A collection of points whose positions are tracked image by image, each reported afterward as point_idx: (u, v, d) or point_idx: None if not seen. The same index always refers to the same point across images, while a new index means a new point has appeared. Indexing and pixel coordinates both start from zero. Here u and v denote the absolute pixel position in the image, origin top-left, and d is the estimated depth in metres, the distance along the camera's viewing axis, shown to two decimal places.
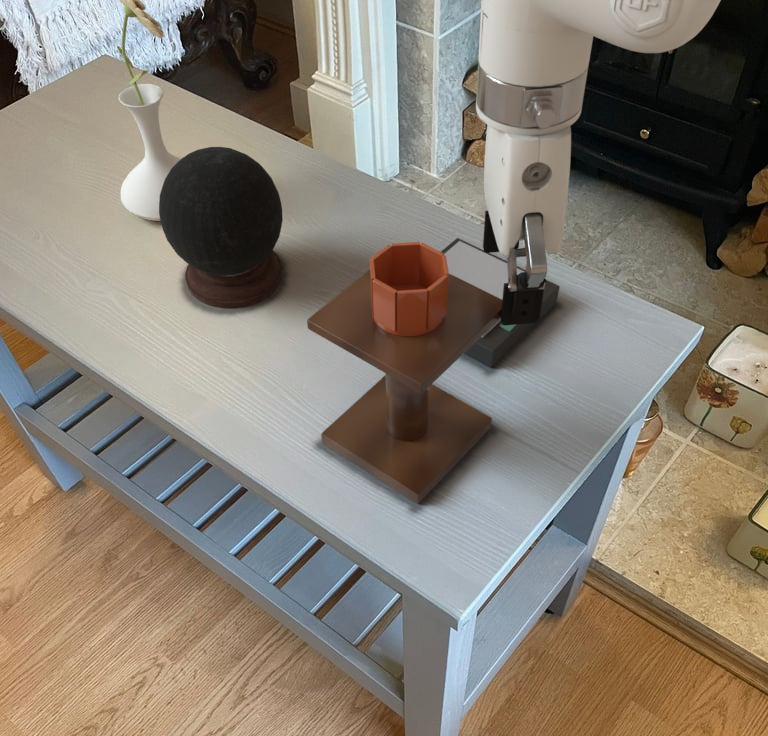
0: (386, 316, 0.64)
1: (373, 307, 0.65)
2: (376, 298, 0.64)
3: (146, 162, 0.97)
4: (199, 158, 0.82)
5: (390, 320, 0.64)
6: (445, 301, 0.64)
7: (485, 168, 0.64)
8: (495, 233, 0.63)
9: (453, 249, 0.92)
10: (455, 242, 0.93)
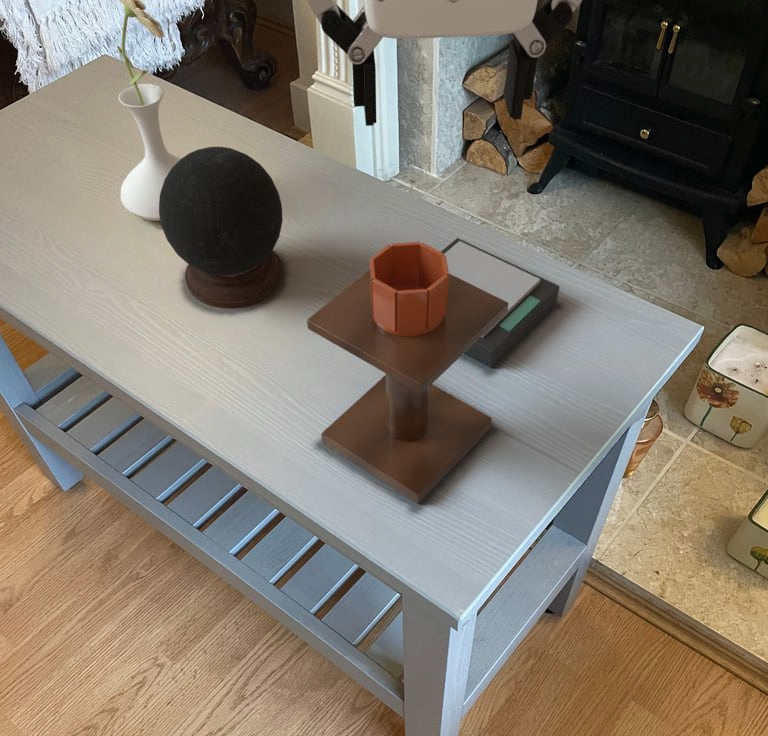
0: (386, 316, 0.64)
1: (373, 307, 0.65)
2: (376, 298, 0.64)
3: (146, 162, 0.97)
4: (199, 158, 0.82)
5: (390, 320, 0.64)
6: (445, 301, 0.64)
7: None
8: None
9: (453, 249, 0.92)
10: (455, 242, 0.93)
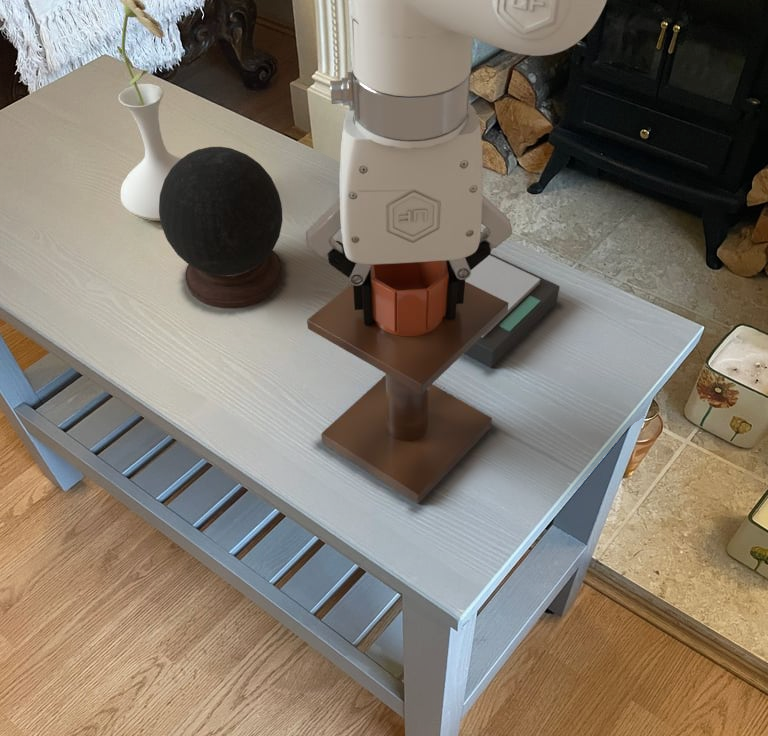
0: (386, 316, 0.64)
1: (373, 307, 0.65)
2: (376, 298, 0.64)
3: (146, 162, 0.97)
4: (199, 158, 0.82)
5: (390, 320, 0.64)
6: (445, 301, 0.64)
7: None
8: None
9: None
10: None
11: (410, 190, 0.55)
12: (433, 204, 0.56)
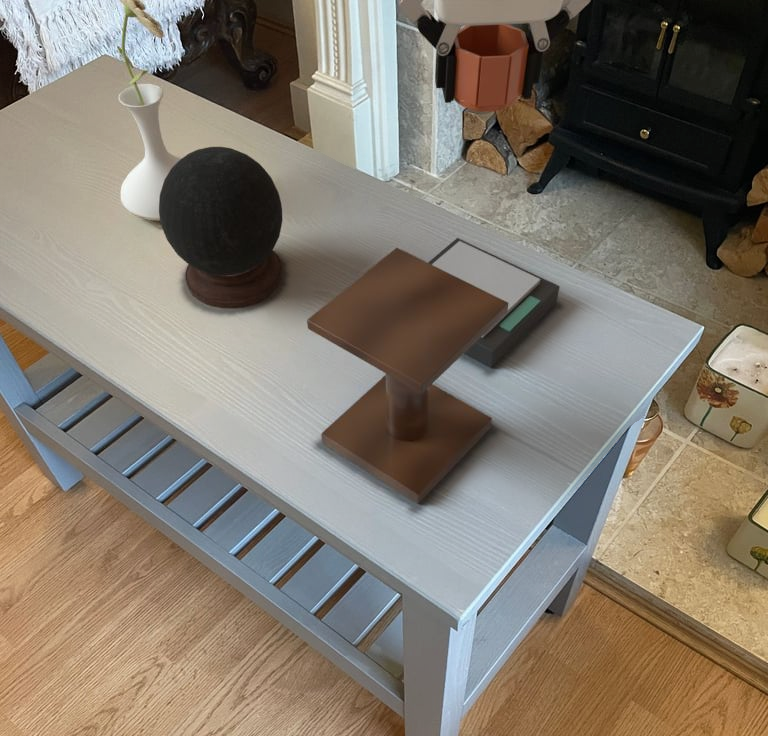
0: (468, 89, 0.68)
1: (455, 82, 0.69)
2: (459, 70, 0.68)
3: (146, 162, 0.97)
4: (199, 158, 0.82)
5: (471, 93, 0.68)
6: (523, 76, 0.69)
7: None
8: None
9: (453, 249, 0.92)
10: (455, 242, 0.93)
11: None
12: None
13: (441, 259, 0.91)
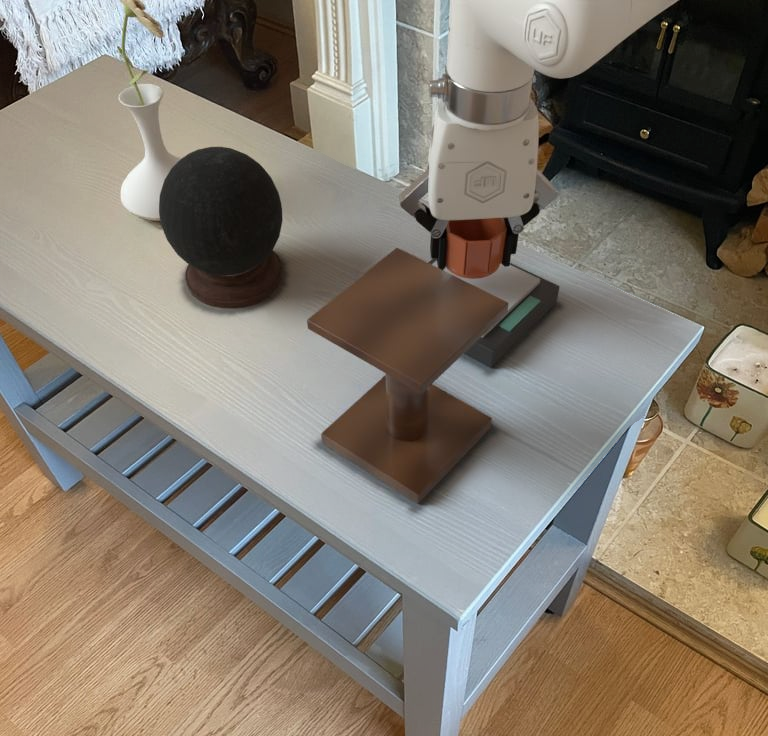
0: (457, 262, 0.83)
1: (446, 255, 0.83)
2: (449, 248, 0.82)
3: (146, 162, 0.97)
4: (199, 158, 0.82)
5: (460, 265, 0.83)
6: (502, 251, 0.83)
7: None
8: None
9: None
10: None
11: (484, 162, 0.73)
12: (501, 173, 0.74)
13: None
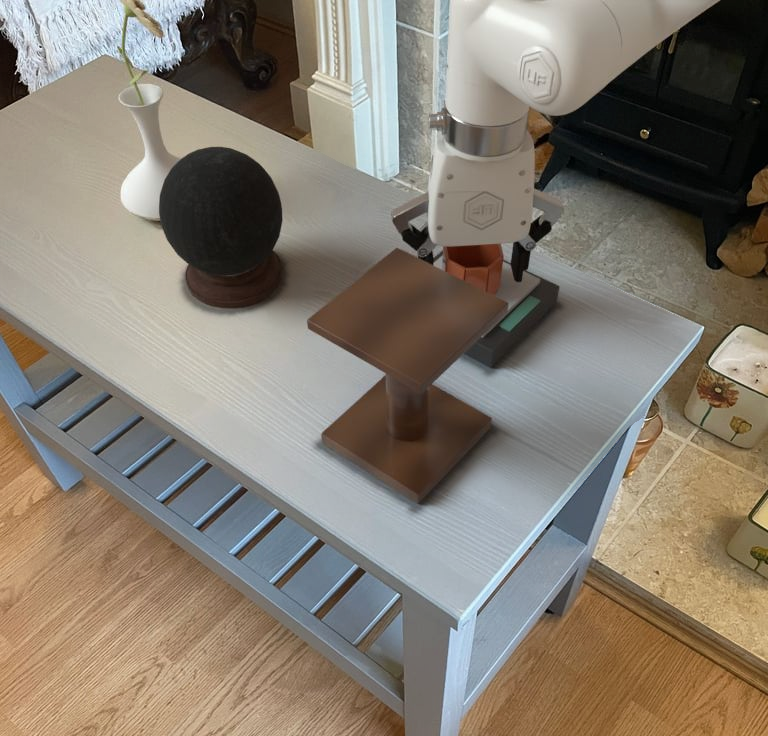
0: None
1: None
2: None
3: (146, 162, 0.97)
4: (199, 158, 0.82)
5: None
6: (499, 276, 0.86)
7: None
8: None
9: None
10: None
11: (482, 191, 0.76)
12: (498, 201, 0.77)
13: (441, 259, 0.91)
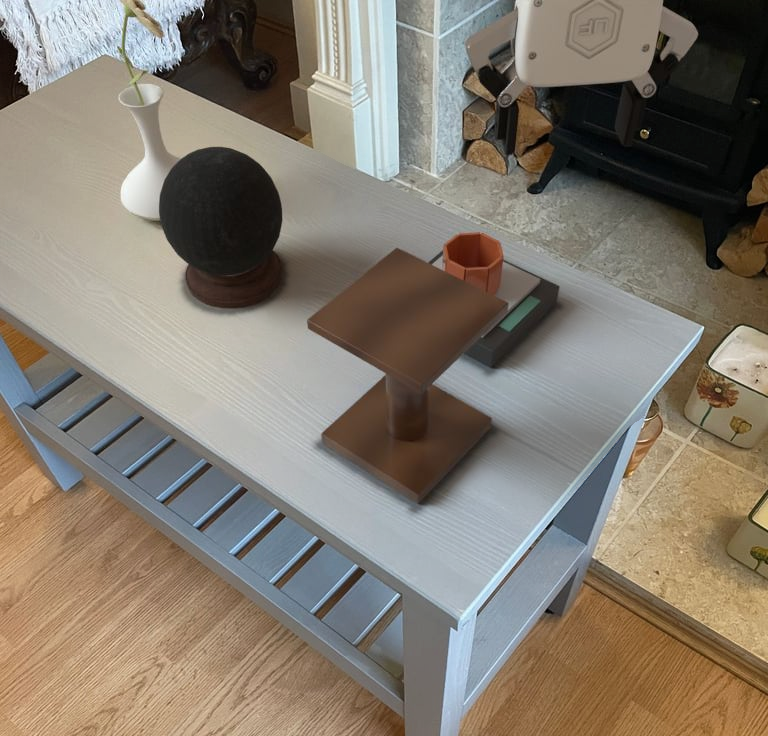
0: None
1: None
2: None
3: (146, 162, 0.97)
4: (199, 158, 0.82)
5: None
6: (499, 276, 0.86)
7: None
8: None
9: None
10: None
11: None
12: (616, 12, 0.56)
13: (441, 259, 0.91)
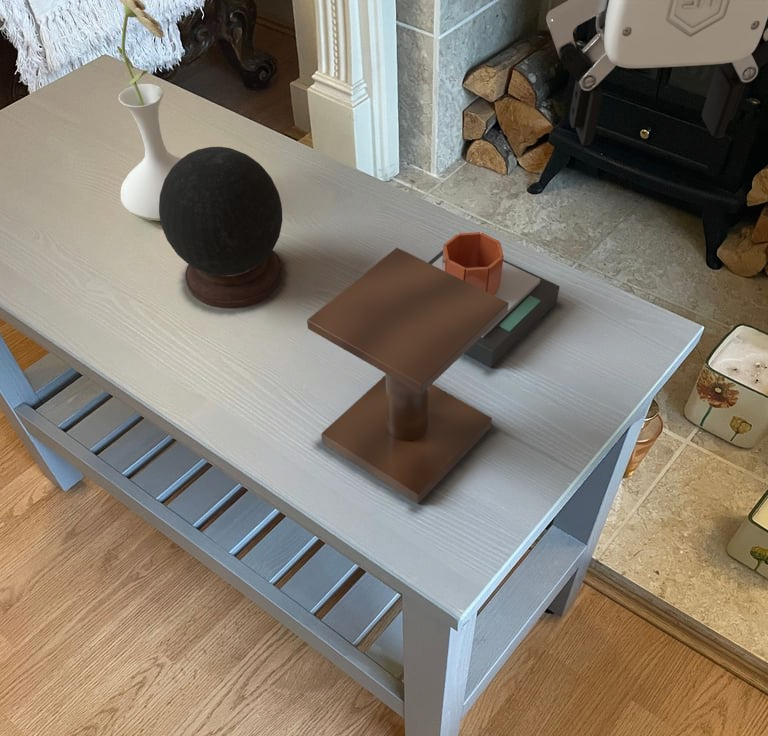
0: None
1: None
2: None
3: (146, 162, 0.97)
4: (199, 158, 0.82)
5: None
6: (499, 276, 0.86)
7: None
8: None
9: None
10: None
11: None
12: None
13: (441, 259, 0.91)
